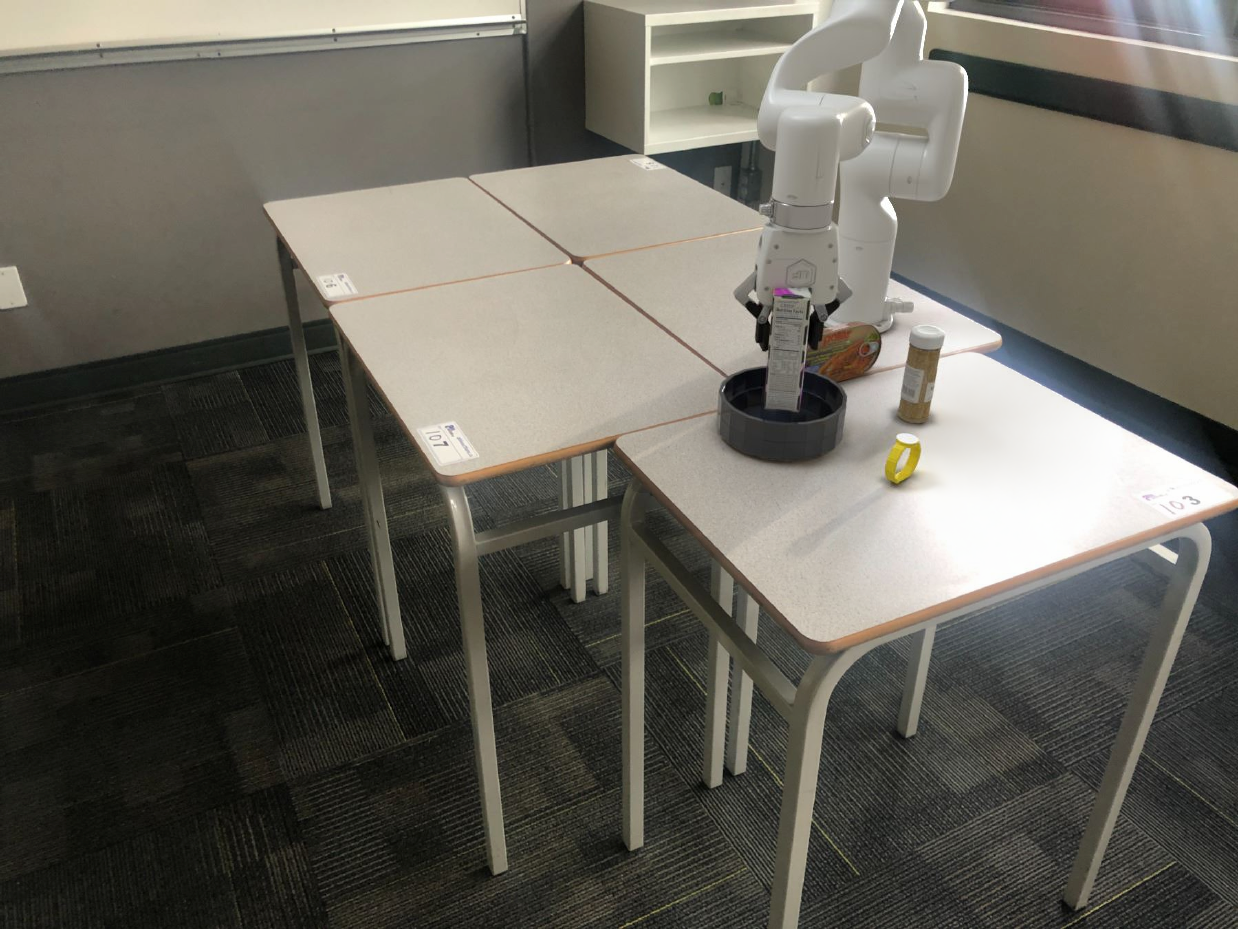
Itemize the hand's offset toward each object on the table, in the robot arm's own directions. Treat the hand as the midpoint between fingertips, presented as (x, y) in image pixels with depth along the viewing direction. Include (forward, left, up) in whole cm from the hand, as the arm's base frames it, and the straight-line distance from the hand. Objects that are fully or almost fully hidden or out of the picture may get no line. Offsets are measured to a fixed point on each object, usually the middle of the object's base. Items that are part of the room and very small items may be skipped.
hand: (787, 345), depth 131 cm
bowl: (0, 0, -13) cm, 13 cm away
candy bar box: (0, 0, -7) cm, 7 cm away
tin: (-12, -16, -13) cm, 24 cm away
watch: (-13, +13, -13) cm, 23 cm away
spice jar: (-20, -3, -13) cm, 24 cm away
